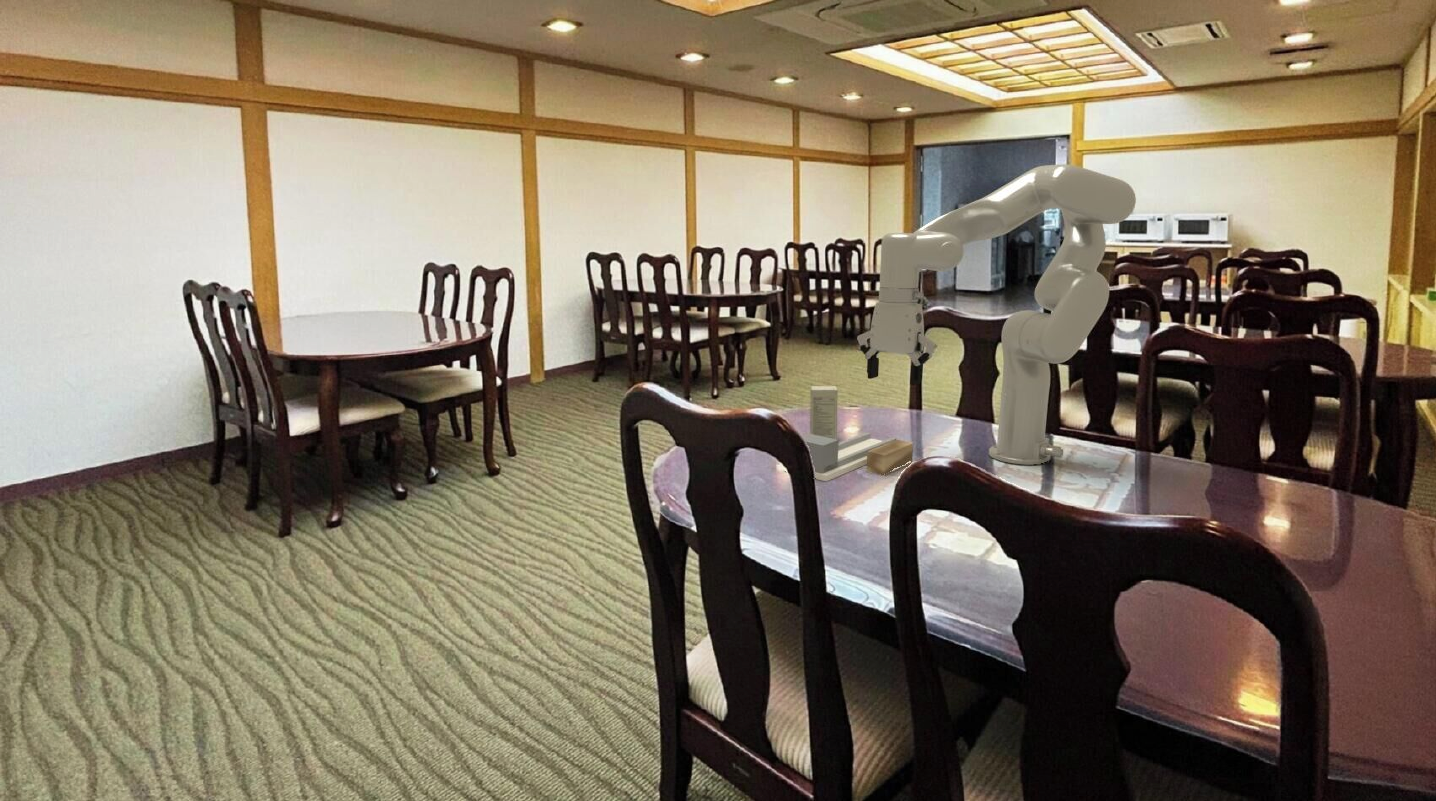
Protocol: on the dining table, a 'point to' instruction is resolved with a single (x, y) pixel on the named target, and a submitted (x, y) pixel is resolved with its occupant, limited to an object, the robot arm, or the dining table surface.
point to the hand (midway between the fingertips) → (893, 380)
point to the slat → (889, 456)
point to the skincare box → (823, 411)
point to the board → (840, 454)
